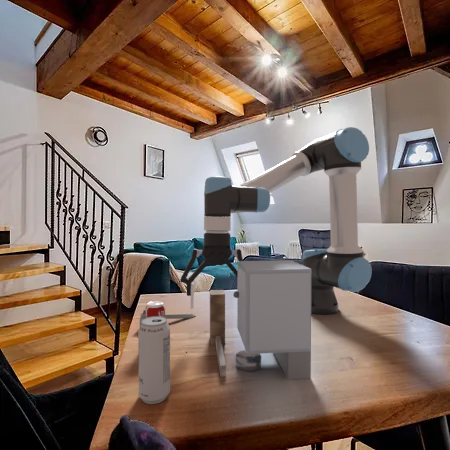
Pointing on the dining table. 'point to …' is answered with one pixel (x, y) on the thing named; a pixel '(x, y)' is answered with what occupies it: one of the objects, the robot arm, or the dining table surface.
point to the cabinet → (276, 312)
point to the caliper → (169, 316)
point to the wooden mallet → (218, 326)
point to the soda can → (155, 309)
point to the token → (248, 361)
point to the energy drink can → (154, 359)
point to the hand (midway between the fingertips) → (216, 306)
